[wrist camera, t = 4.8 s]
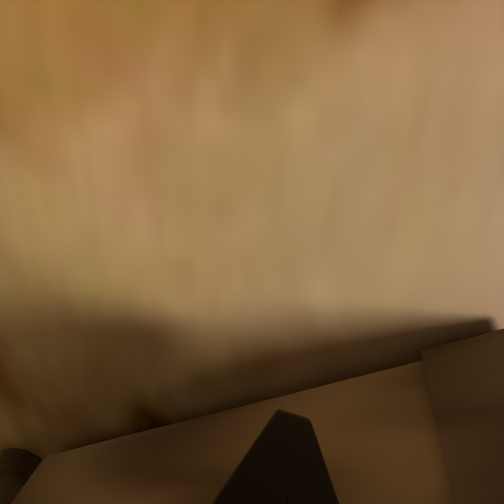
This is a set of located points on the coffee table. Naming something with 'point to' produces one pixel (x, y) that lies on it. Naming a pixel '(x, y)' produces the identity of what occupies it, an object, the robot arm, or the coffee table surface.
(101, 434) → the coffee table surface
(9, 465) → the hinge post
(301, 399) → the gate
